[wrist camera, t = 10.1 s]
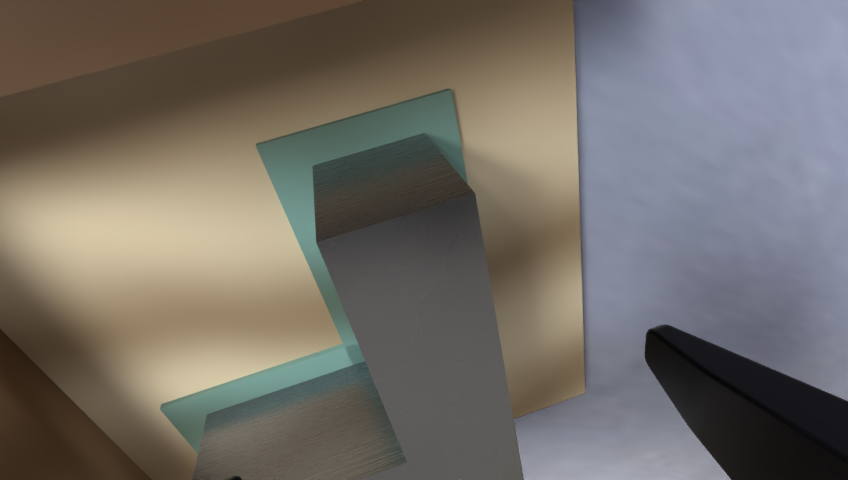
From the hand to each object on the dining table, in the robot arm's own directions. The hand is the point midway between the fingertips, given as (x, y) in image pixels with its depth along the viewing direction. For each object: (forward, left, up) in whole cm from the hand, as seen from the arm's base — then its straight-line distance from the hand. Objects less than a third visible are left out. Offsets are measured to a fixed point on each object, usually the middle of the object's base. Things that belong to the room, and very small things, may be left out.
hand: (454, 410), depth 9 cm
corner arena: (0, -3, -6) cm, 7 cm away
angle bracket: (+1, -3, -5) cm, 6 cm away
